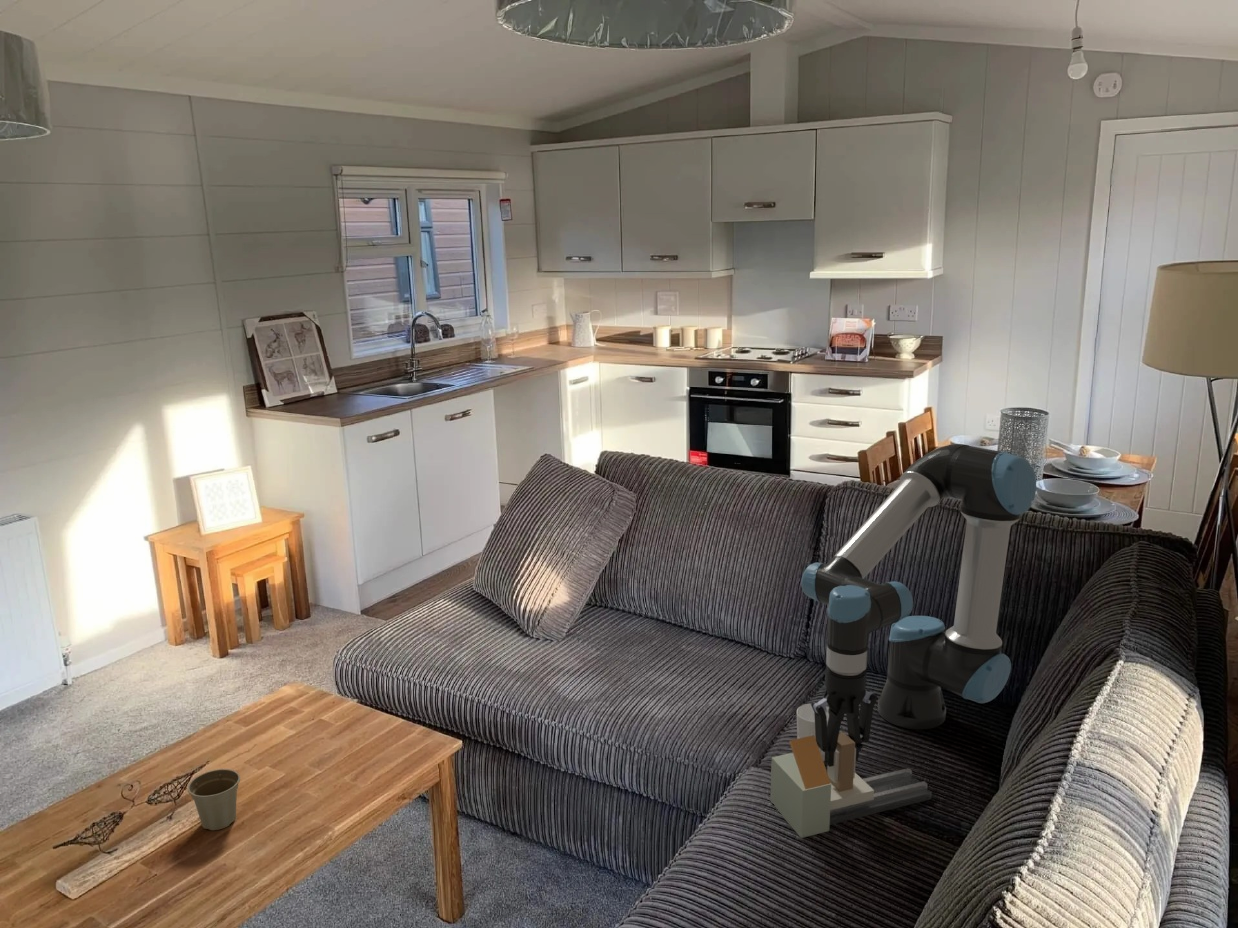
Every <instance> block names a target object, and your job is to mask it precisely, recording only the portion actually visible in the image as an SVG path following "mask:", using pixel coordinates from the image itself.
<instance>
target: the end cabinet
mask: <svg viewBox="0 0 1238 928" xmlns="http://www.w3.org/2000/svg"><path fill="white" fill-rule="evenodd" d="M770 761H771V765H770V766H771V767H770V771H771V772H770V801H771V802H772V803H773V804H774V805H775V807H776V808H777V809H778V810H777V809H776V808H775V807H774V808H775V809H776V810H777V812H778V811H779V812H780V813H781V814H782V815H781V814H780V813H779V812H778V813H779V814H780V815H781V816H782V817H783V818H784V820H785V821H786V822H787V823H788V825H789V826H790V827H791V828H792V829H793V830H794V832H795V833H796V834H797V835H798V836H799V837H800V839H803V838H806V837H810V836H811V837H812V836H814V835H817V834H823V833H826V832H829V831H830V825H829V824H830V802H831V783H830V784H826V785H822V786H818V787H814V788H809V789H805V787H804V784H803V781H802V778H801V775H800V772H799V769H798V766H797V763H796V760H795V757H794V754H793V752H790V753H785V754H781V755H776V756H772V757H771V760H770ZM771 802H770V803H771Z"/></svg>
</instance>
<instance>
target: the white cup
mask: <svg viewBox="0 0 1238 928" xmlns="http://www.w3.org/2000/svg"><path fill="white" fill-rule="evenodd" d="M826 710H827V712H826V717H827V724H828V719H829V713H828V710H829V706H828V705H827V706H826ZM812 735H814V736H815V715H814V710H813V708H812V706H811V703H805V704H801V705H800V706H799V707H797V709H796V737H797V738H796V739H799V738H803V737H808V736H812ZM815 739H816V737H815ZM818 748H819V747H818ZM819 751H820V754H821V756H822V759H823V762H825V752H823V751H822V750H821V749H820V748H819Z"/></svg>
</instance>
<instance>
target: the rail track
mask: <svg viewBox="0 0 1238 928" xmlns="http://www.w3.org/2000/svg"><path fill="white" fill-rule="evenodd" d="M862 779H863V780H864V781H865V782H866V783H867V784H868V785H869V786H870V787H871V788H872V789H873V790H874V800H870V801H866V802H862V803H858V804H854V805H850V806H846V807H842V808H838V809H834V810H830V824H829V826H831V825H836V824H839V823H843V822H847V821H851V820H854V819H858V818H863V817H866V816H871V815H874V814H878V813H882V812H886V811H891V810H893V809H898V808H901V807H907V806H910V805H915V804H917V803H918V804H919V803H922V802H925V801H929V800H931V799H932V793H933V792H932V791H931V790H930V789H928V783H927V782H926V781H925V780H924V781H919V780H918V779H917V778H916V777H915V776H914V775H913V770H912V769H911V768H910V767H907V768H901V769H898V770H892V771H888V772H885V773H880V774H875V775H872V776H866V777H863V778H862Z"/></svg>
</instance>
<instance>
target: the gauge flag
mask: <svg viewBox="0 0 1238 928" xmlns="http://www.w3.org/2000/svg"><path fill="white" fill-rule="evenodd" d="M788 743H789V745H790V748H791V751H792V753H793V754H794V757H795V760H796V763H797V766H798V769H799V772H800V775H801V778H802V781H803V784H804V787H805V789H809V788H814V787H818V786H822V785H826V784H830V783H831V782H830V779H829V776H828V773H827V767H826V766H825V761H823V759H822V756H821V754H820V751H819V748H818V745H817V742H816V739H815V736H814V735H812V736H808V737H803V738H799V739H797V738H795V739H791V740H789V742H788Z"/></svg>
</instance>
